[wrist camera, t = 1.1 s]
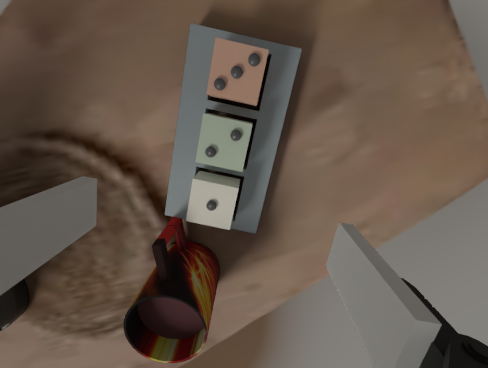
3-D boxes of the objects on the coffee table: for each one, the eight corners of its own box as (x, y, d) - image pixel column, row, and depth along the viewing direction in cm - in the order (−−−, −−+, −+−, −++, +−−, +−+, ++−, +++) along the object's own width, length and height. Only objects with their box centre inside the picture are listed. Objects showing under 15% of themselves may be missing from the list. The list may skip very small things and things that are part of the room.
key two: (202, 156, 33) (194, 162, 29) (209, 113, 31) (202, 113, 27) (243, 164, 33) (242, 172, 29) (252, 122, 32) (252, 124, 27)
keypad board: (170, 208, 37) (164, 214, 35) (195, 30, 31) (190, 23, 29) (255, 226, 38) (255, 233, 35) (298, 53, 31) (301, 48, 29)
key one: (193, 208, 35) (185, 222, 31) (199, 170, 33) (192, 179, 29) (232, 216, 35) (229, 231, 31) (240, 179, 34) (238, 189, 29)
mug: (181, 208, 38) (150, 251, 26) (231, 277, 41) (224, 342, 29) (131, 238, 39) (81, 291, 28) (183, 302, 42) (157, 374, 31)
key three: (212, 96, 31) (205, 93, 26) (220, 47, 29) (215, 36, 25) (256, 106, 31) (256, 105, 27) (266, 58, 29) (269, 49, 25)
